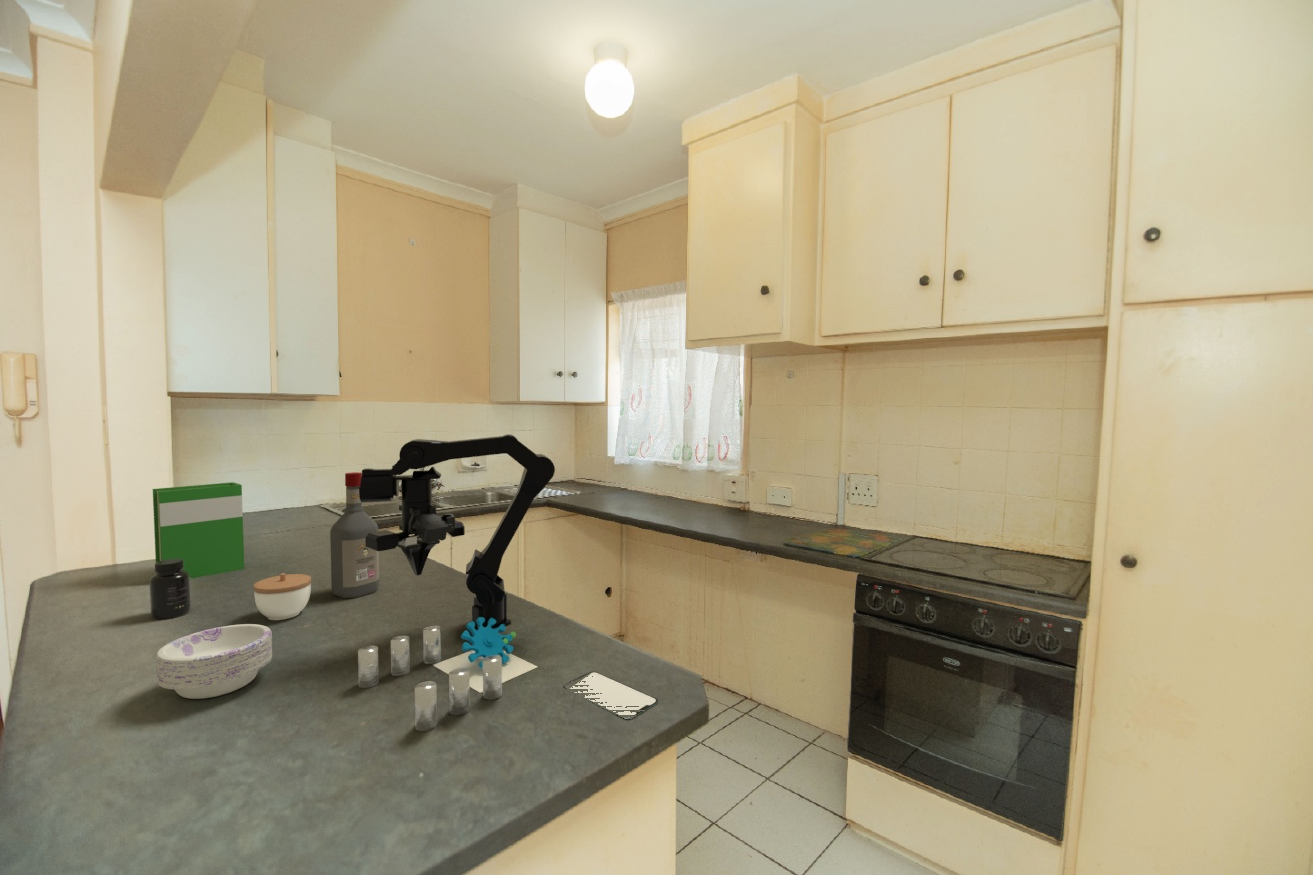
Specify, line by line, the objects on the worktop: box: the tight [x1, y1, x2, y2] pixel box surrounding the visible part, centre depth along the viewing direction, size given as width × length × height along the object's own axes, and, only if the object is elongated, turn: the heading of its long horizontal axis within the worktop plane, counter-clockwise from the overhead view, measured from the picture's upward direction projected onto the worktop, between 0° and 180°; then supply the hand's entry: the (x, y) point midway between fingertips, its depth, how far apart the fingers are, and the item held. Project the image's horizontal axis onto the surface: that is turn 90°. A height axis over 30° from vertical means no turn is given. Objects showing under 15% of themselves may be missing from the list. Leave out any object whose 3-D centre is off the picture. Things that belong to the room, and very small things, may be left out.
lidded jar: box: [252, 572, 312, 621], centre depth 125 cm, size 11×11×9 cm
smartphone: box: [562, 671, 659, 720], centre depth 93 cm, size 8×1×16 cm
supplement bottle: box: [148, 559, 192, 620], centre depth 125 cm, size 7×7×12 cm
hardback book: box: [152, 481, 245, 579], centre depth 154 cm, size 18×7×24 cm, turn 141°
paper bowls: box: [155, 623, 273, 700], centre depth 94 cm, size 15×15×8 cm
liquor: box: [329, 471, 380, 599], centre depth 140 cm, size 9×9×30 cm
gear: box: [460, 617, 517, 669], centre depth 104 cm, size 11×6×10 cm
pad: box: [432, 649, 538, 694], centre depth 102 cm, size 12×15×1 cm
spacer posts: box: [357, 625, 503, 732], centre depth 94 cm, size 14×22×6 cm, turn 51°
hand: (418, 574), depth 117 cm, fingers closed
